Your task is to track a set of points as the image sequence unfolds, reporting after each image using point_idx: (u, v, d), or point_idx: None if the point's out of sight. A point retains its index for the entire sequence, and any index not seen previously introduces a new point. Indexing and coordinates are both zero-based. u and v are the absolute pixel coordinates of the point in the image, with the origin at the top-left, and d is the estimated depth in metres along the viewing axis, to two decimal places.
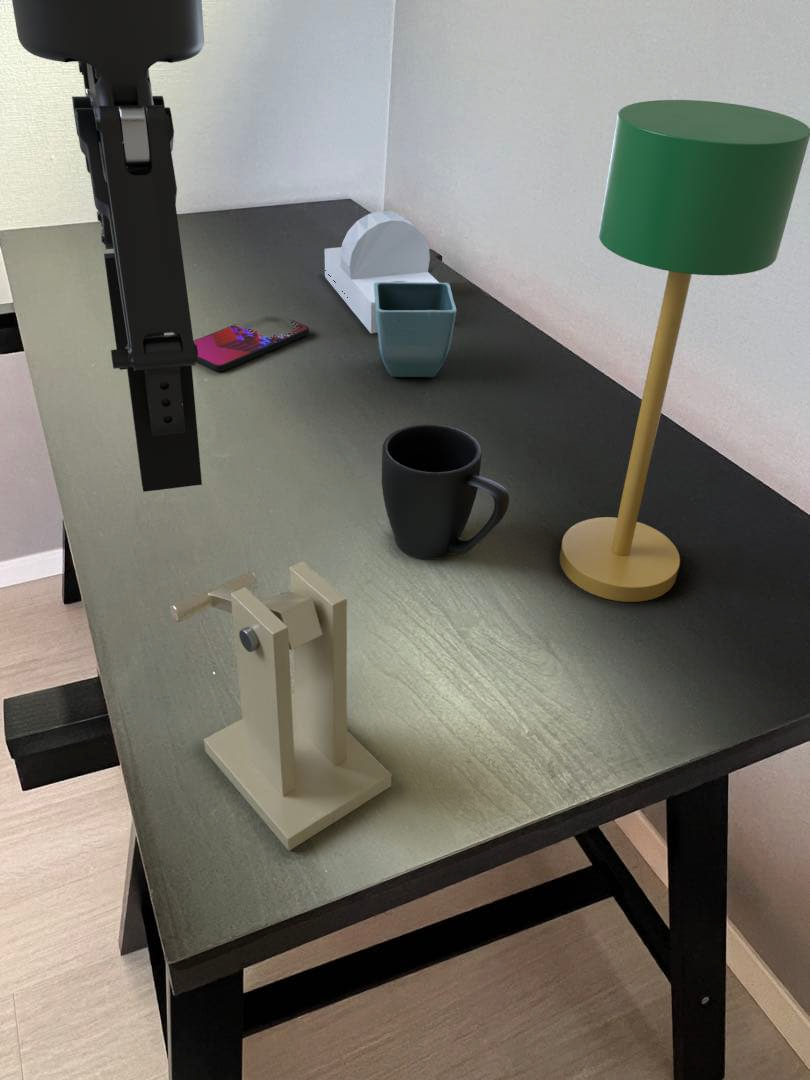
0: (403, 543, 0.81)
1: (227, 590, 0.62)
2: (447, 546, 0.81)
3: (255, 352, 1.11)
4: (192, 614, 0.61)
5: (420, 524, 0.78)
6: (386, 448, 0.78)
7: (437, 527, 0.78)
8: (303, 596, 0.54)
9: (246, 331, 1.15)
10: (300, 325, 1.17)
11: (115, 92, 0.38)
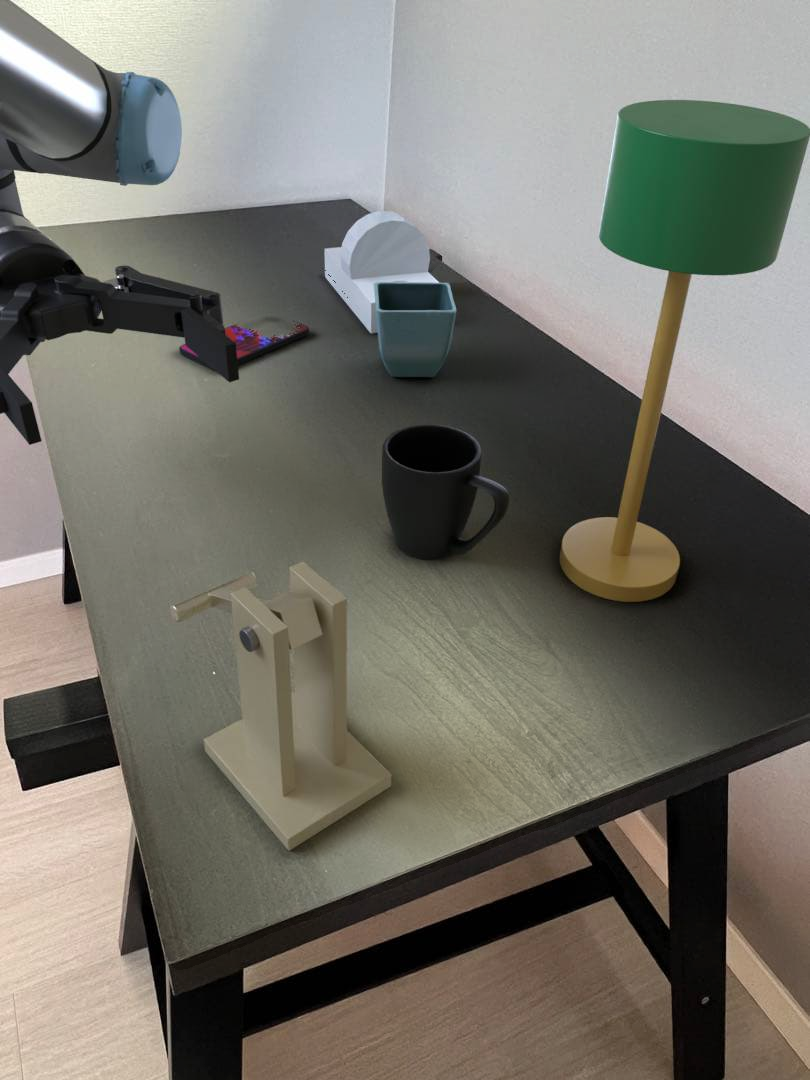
0: (403, 543, 0.81)
1: (227, 590, 0.62)
2: (447, 546, 0.81)
3: (255, 352, 1.11)
4: (192, 614, 0.61)
5: (420, 524, 0.78)
6: (386, 448, 0.78)
7: (437, 527, 0.78)
8: (303, 596, 0.54)
9: (246, 331, 1.15)
10: (300, 325, 1.17)
11: None
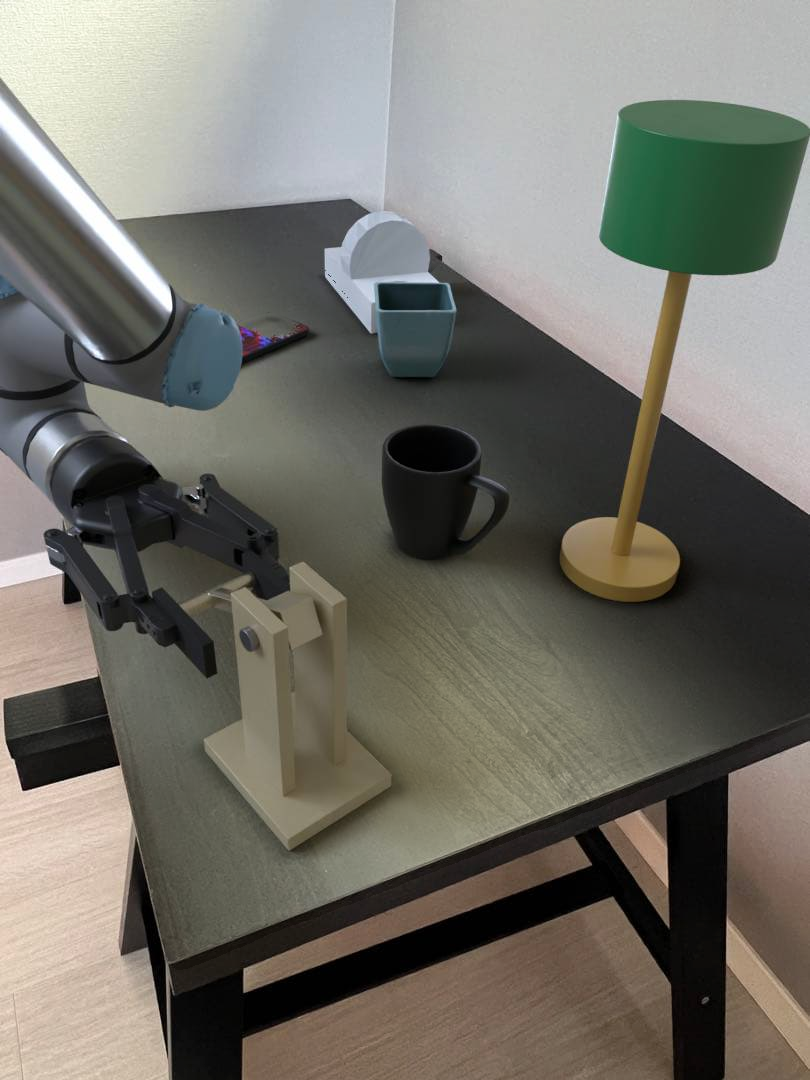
0: (403, 543, 0.81)
1: (227, 590, 0.62)
2: (447, 546, 0.81)
3: (255, 352, 1.11)
4: (192, 614, 0.61)
5: (420, 524, 0.78)
6: (386, 448, 0.78)
7: (437, 527, 0.78)
8: (303, 596, 0.54)
9: (246, 331, 1.15)
10: (300, 325, 1.17)
11: None
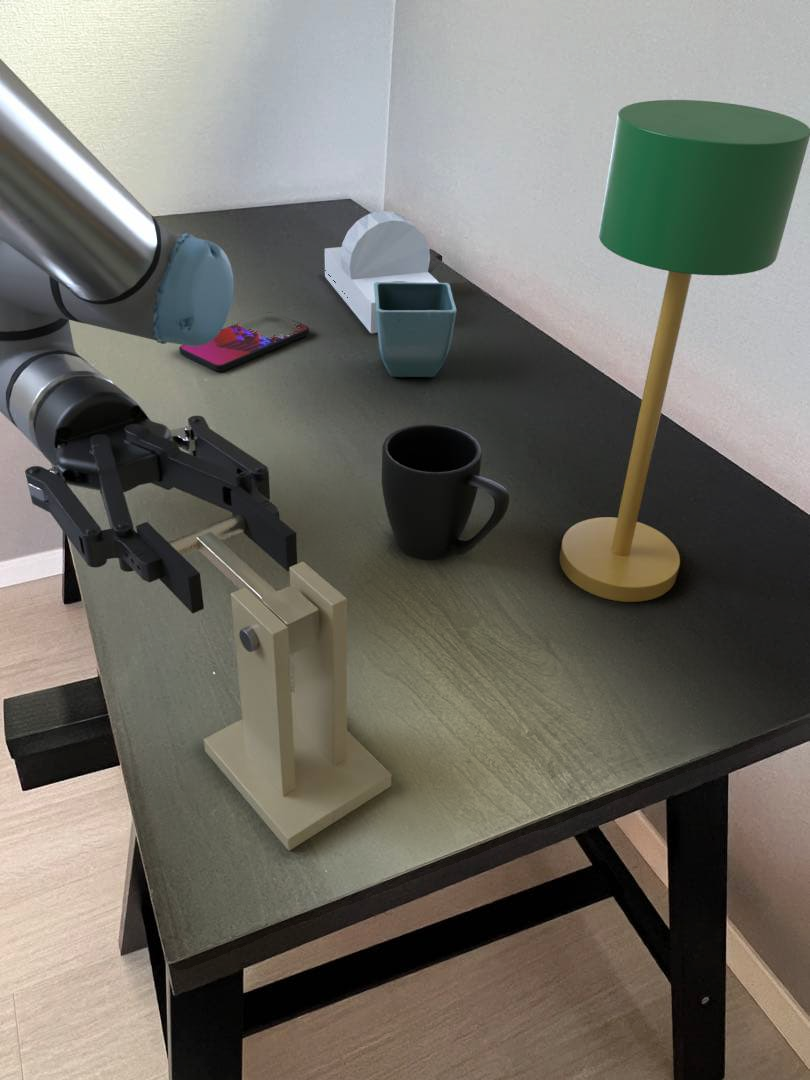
0: (403, 543, 0.81)
1: (218, 541, 0.60)
2: (447, 546, 0.81)
3: (255, 352, 1.11)
4: None
5: (420, 524, 0.78)
6: (386, 448, 0.78)
7: (437, 527, 0.78)
8: (309, 604, 0.54)
9: (246, 331, 1.15)
10: (300, 325, 1.17)
11: None
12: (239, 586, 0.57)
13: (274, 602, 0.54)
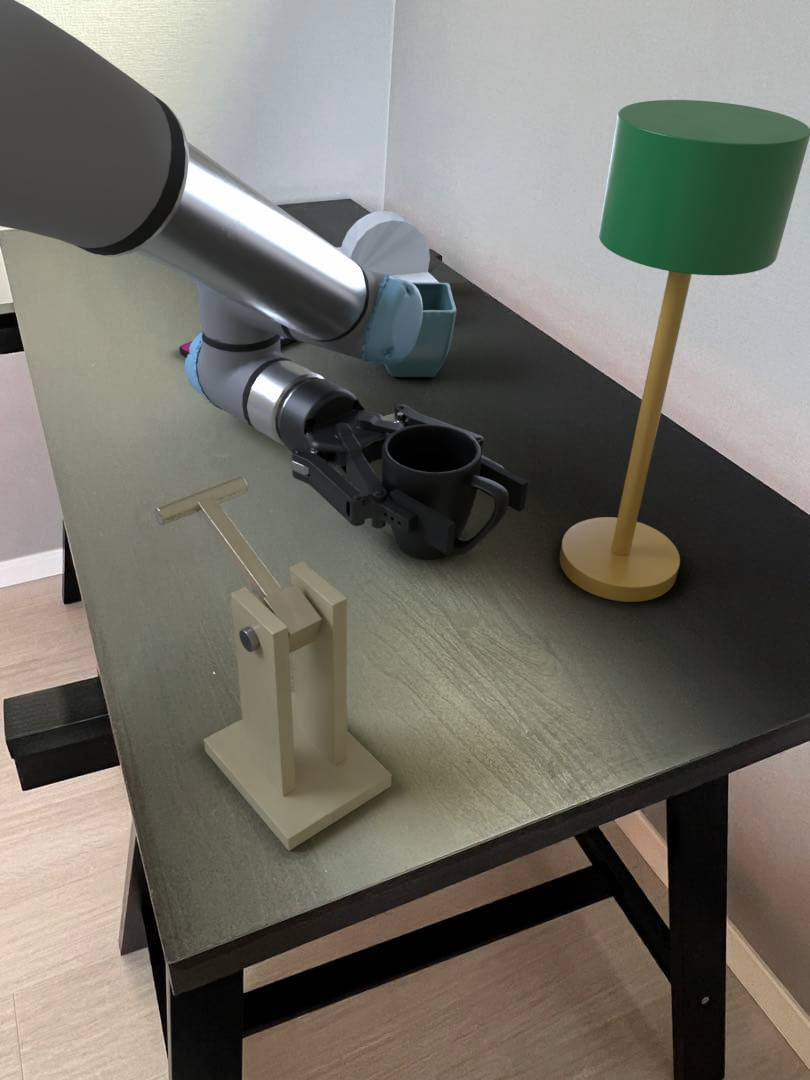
0: (403, 543, 0.81)
1: (220, 510, 0.58)
2: None
3: None
4: None
5: None
6: (386, 448, 0.78)
7: None
8: (313, 611, 0.54)
9: None
10: None
11: None
12: (239, 568, 0.56)
13: (278, 604, 0.54)
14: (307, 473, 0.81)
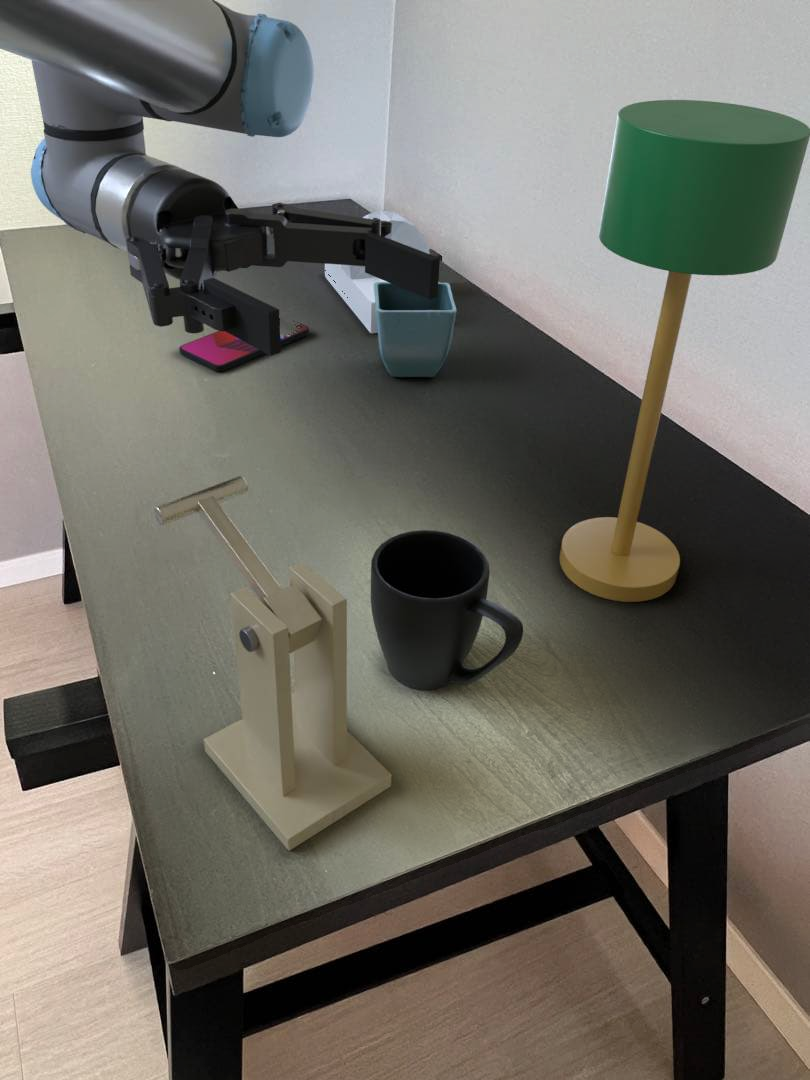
0: (396, 671, 0.68)
1: (220, 510, 0.58)
2: (448, 675, 0.68)
3: (255, 352, 1.11)
4: None
5: (416, 654, 0.65)
6: (376, 564, 0.65)
7: (437, 657, 0.65)
8: (313, 611, 0.54)
9: None
10: (300, 325, 1.17)
11: None
12: (239, 568, 0.56)
13: (278, 604, 0.54)
14: (140, 268, 0.64)
